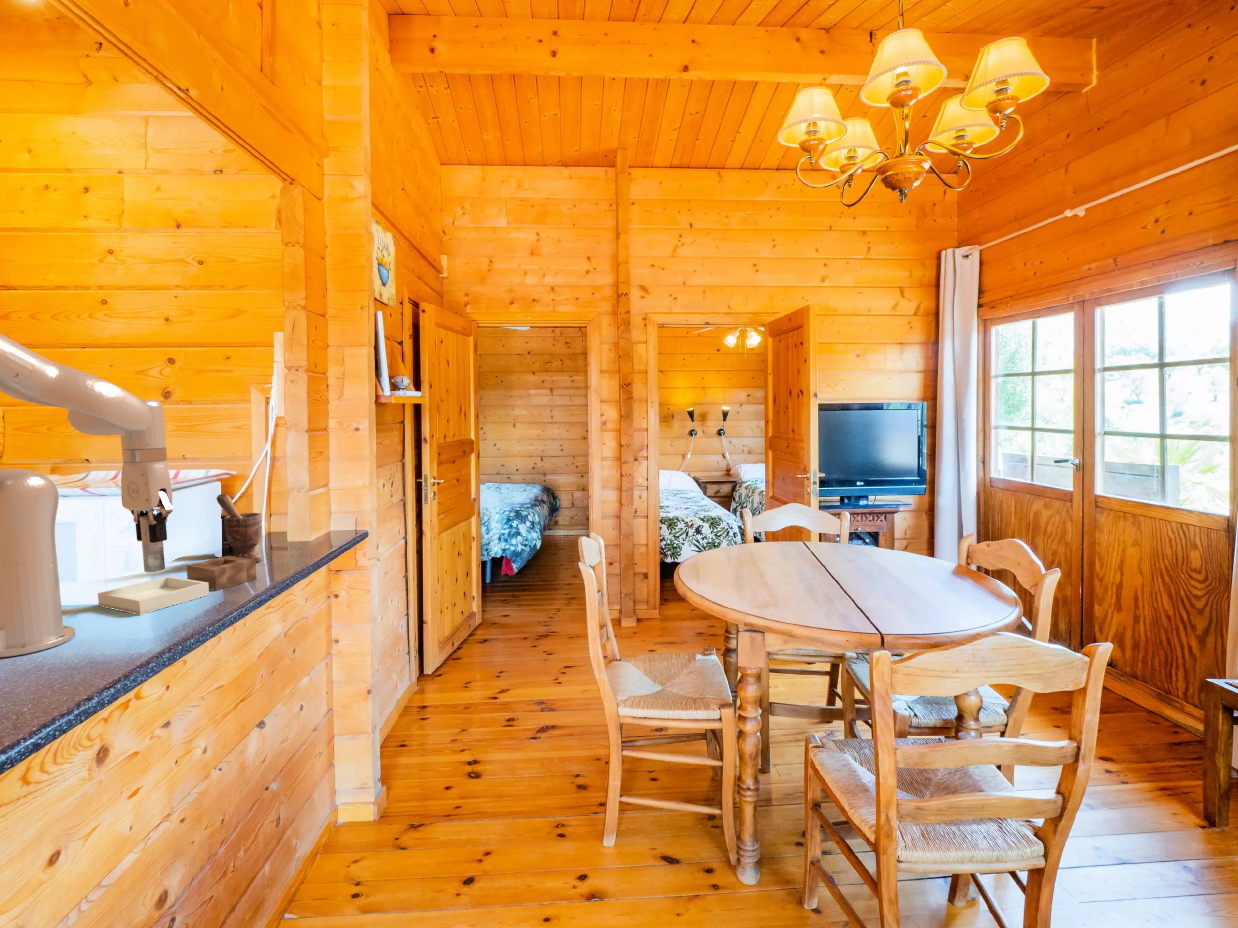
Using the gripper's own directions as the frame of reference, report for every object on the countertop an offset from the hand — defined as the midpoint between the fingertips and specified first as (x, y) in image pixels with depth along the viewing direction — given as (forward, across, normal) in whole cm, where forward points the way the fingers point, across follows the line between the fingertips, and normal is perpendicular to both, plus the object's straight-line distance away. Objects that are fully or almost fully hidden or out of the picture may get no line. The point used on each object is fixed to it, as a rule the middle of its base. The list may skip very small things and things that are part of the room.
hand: (152, 539), depth 130 cm
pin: (+7, 0, 0) cm, 7 cm away
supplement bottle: (+14, -25, +34) cm, 44 cm away
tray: (+14, 0, 0) cm, 14 cm away
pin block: (+14, 0, +15) cm, 20 cm away
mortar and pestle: (+14, -12, +29) cm, 34 cm away
